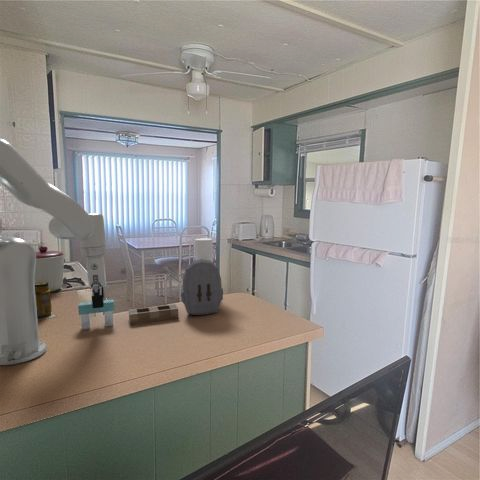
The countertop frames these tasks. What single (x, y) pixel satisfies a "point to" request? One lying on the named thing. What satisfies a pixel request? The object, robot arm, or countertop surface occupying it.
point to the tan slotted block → (153, 314)
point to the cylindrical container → (204, 249)
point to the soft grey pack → (202, 288)
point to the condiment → (43, 301)
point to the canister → (49, 268)
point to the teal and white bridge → (87, 309)
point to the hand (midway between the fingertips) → (98, 303)
